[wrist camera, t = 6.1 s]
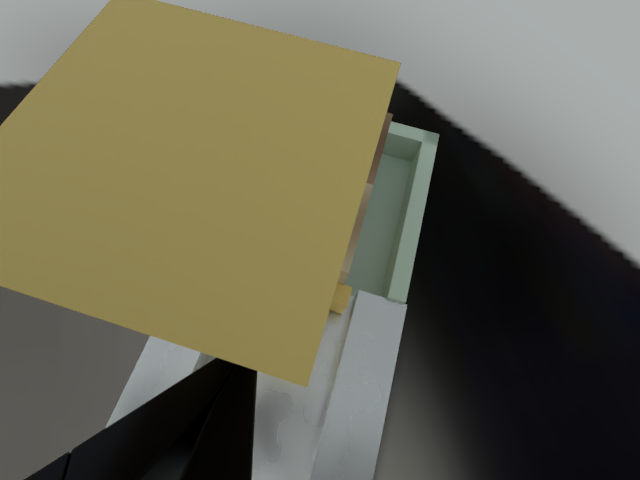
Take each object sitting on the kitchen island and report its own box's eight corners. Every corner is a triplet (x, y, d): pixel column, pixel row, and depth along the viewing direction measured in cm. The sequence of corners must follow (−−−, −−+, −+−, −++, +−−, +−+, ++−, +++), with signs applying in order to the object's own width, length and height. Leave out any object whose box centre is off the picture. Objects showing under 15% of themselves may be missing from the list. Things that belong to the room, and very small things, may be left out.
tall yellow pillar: (323, 381, 14) (448, 434, 2) (220, 346, 14) (-218, 213, 2) (346, 297, 15) (499, 32, 3) (251, 268, 16) (83, -69, 4)
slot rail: (298, 761, 11) (296, 877, 8) (31, 651, 12) (-44, 727, 9) (392, 314, 17) (408, 305, 14) (211, 258, 17) (195, 239, 15)
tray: (388, 313, 17) (405, 302, 14) (215, 259, 17) (197, 238, 15) (420, 166, 20) (439, 134, 18) (275, 126, 21) (271, 89, 18)
